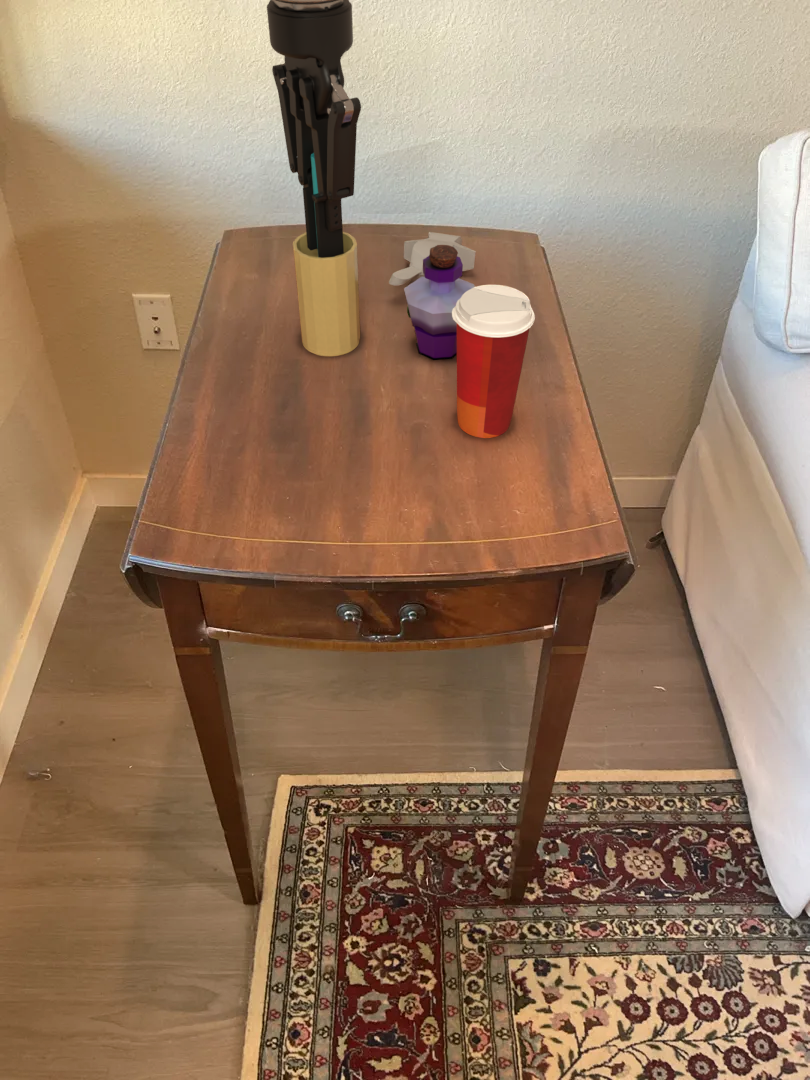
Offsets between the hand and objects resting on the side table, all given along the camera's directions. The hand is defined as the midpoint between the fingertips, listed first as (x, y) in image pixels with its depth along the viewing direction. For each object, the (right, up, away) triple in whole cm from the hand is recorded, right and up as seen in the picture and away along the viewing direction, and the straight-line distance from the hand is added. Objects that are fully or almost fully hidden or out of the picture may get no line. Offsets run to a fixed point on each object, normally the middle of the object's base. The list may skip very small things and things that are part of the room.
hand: (325, 250), depth 90 cm
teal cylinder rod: (0, -1, +1) cm, 1 cm away
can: (0, -8, +8) cm, 11 cm away
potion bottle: (+13, -9, +7) cm, 17 cm away
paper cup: (+17, -19, -2) cm, 25 cm away
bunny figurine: (+12, +2, +18) cm, 22 cm away
